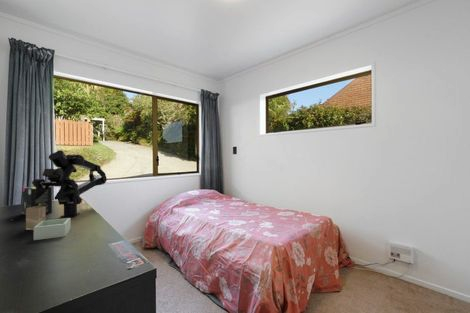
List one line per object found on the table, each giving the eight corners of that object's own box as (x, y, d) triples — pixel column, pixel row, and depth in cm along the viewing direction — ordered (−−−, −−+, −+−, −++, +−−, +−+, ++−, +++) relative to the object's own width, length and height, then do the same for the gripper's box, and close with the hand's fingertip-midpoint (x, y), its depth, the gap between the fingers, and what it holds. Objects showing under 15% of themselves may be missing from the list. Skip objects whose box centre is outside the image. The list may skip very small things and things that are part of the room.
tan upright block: (34, 226, 99) (34, 206, 99) (45, 226, 99) (45, 206, 99) (25, 229, 95) (26, 208, 95) (37, 229, 95) (37, 208, 95)
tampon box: (21, 214, 119) (21, 187, 119) (42, 210, 128) (42, 185, 128) (30, 216, 114) (31, 188, 114) (52, 212, 122) (52, 186, 122)
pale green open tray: (42, 232, 91) (42, 220, 91) (70, 229, 96) (70, 217, 96) (33, 240, 83) (33, 227, 83) (65, 236, 87) (65, 224, 87)
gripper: (35, 162, 106) (12, 188, 95) (74, 162, 107) (55, 188, 96) (48, 177, 114) (29, 202, 103) (84, 177, 115) (69, 203, 103)
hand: (45, 199), depth 101 cm, fingers open, 9 cm apart
